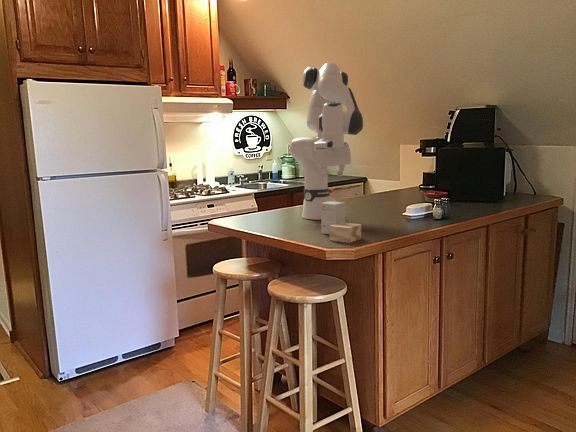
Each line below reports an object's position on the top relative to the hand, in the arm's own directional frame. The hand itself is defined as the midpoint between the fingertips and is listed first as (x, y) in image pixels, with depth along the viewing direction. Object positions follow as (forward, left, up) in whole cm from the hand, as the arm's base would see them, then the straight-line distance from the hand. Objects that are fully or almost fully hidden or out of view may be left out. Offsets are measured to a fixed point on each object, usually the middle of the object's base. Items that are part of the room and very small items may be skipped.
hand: (333, 176), depth 214 cm
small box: (0, 0, -24) cm, 24 cm away
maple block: (+6, +11, -24) cm, 27 cm away
